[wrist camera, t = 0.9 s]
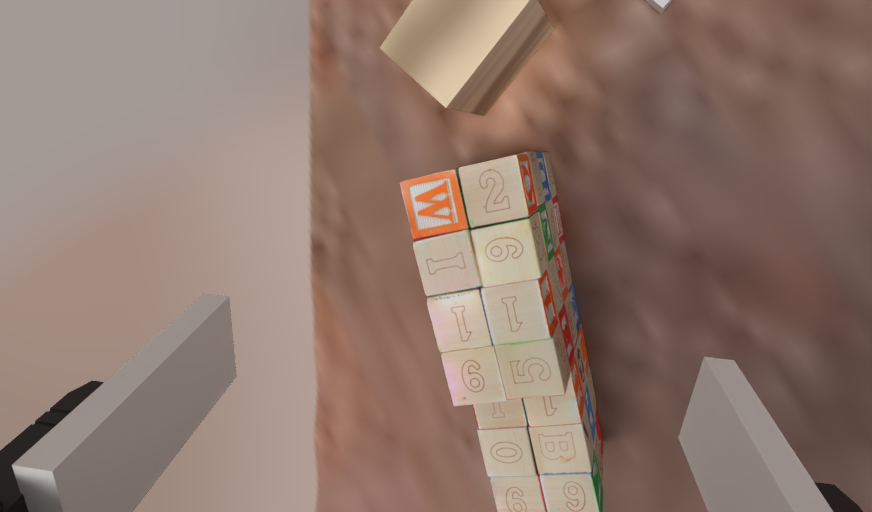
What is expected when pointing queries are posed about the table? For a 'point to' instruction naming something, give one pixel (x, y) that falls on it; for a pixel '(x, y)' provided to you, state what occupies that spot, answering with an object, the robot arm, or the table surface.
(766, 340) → the table surface
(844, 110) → the table surface
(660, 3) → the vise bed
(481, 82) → the maple block
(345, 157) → the table surface
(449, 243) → the stack of blocks
